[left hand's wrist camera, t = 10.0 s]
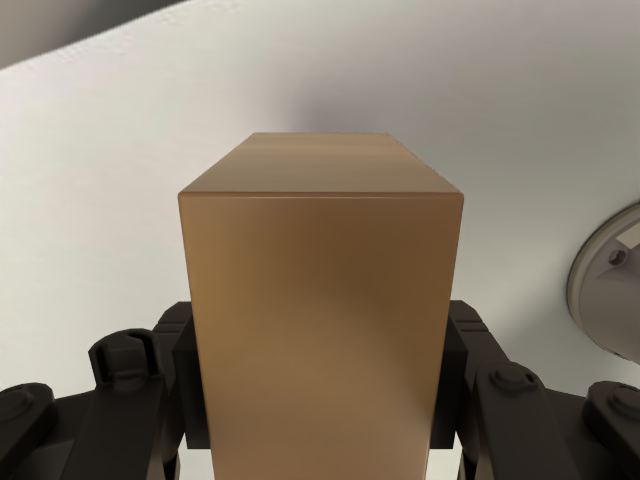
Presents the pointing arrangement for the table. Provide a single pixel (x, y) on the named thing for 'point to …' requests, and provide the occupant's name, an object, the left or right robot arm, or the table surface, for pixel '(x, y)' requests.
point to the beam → (320, 304)
